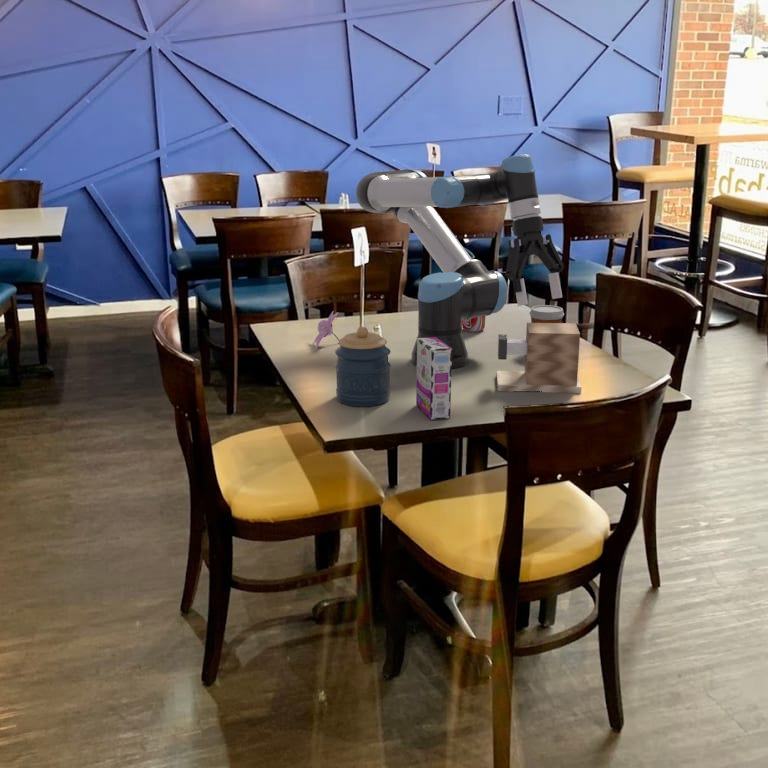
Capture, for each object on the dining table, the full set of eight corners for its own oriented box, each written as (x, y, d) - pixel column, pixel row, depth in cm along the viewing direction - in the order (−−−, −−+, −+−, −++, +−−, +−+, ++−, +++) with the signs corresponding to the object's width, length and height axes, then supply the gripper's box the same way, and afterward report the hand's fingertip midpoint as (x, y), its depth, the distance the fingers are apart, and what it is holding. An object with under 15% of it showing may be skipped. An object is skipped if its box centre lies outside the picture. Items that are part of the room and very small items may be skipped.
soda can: (486, 333, 275) (487, 293, 272) (462, 333, 275) (463, 293, 272) (483, 327, 282) (485, 288, 278) (461, 327, 282) (461, 288, 278)
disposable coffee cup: (552, 357, 251) (554, 314, 247) (521, 351, 256) (523, 309, 253) (568, 349, 258) (570, 307, 254) (537, 344, 263) (539, 303, 260)
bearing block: (497, 391, 223) (499, 333, 219) (496, 376, 235) (498, 321, 230) (581, 393, 222) (584, 335, 217) (575, 378, 233) (579, 322, 228)
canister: (401, 401, 217) (401, 328, 211) (354, 411, 210) (352, 337, 205) (371, 386, 227) (371, 317, 222) (326, 396, 221) (324, 325, 215)
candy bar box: (452, 419, 205) (453, 348, 200) (430, 421, 204) (431, 350, 199) (435, 403, 215) (436, 335, 210) (415, 405, 214) (415, 337, 209)
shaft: (498, 359, 224) (498, 339, 223) (497, 353, 229) (498, 334, 228) (562, 360, 223) (563, 340, 222) (560, 355, 228) (561, 335, 226)
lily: (322, 340, 273) (306, 315, 268) (357, 327, 269) (341, 301, 264) (315, 363, 263) (298, 337, 258) (351, 350, 259) (335, 323, 254)
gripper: (504, 218, 219) (519, 306, 221) (569, 211, 235) (582, 293, 237) (481, 224, 225) (496, 310, 226) (546, 217, 241) (559, 297, 242)
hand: (540, 301), depth 231 cm, fingers open, 13 cm apart
